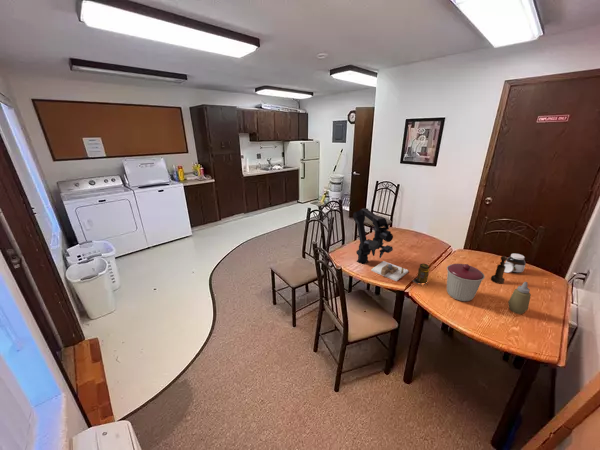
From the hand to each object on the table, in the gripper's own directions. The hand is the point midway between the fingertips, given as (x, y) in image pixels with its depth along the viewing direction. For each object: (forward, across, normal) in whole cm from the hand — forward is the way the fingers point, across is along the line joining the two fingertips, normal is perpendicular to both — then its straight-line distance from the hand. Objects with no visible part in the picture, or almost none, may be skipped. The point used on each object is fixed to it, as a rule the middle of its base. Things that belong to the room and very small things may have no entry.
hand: (376, 256), depth 166 cm
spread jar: (+12, +65, +66) cm, 94 cm away
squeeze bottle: (+12, +74, +18) cm, 77 cm away
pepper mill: (+12, +61, +45) cm, 77 cm away
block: (+11, +6, +5) cm, 13 cm away
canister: (+12, +49, +11) cm, 52 cm away
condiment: (+12, +27, +10) cm, 31 cm away
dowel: (+11, +14, +10) cm, 21 cm away
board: (+12, +6, +8) cm, 16 cm away
